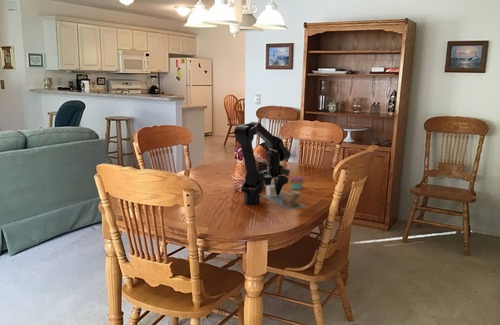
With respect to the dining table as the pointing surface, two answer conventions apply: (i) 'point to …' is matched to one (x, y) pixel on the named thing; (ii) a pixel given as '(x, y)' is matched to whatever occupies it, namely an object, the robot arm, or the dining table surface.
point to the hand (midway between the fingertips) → (273, 192)
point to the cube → (291, 198)
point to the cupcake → (296, 181)
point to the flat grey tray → (277, 197)
